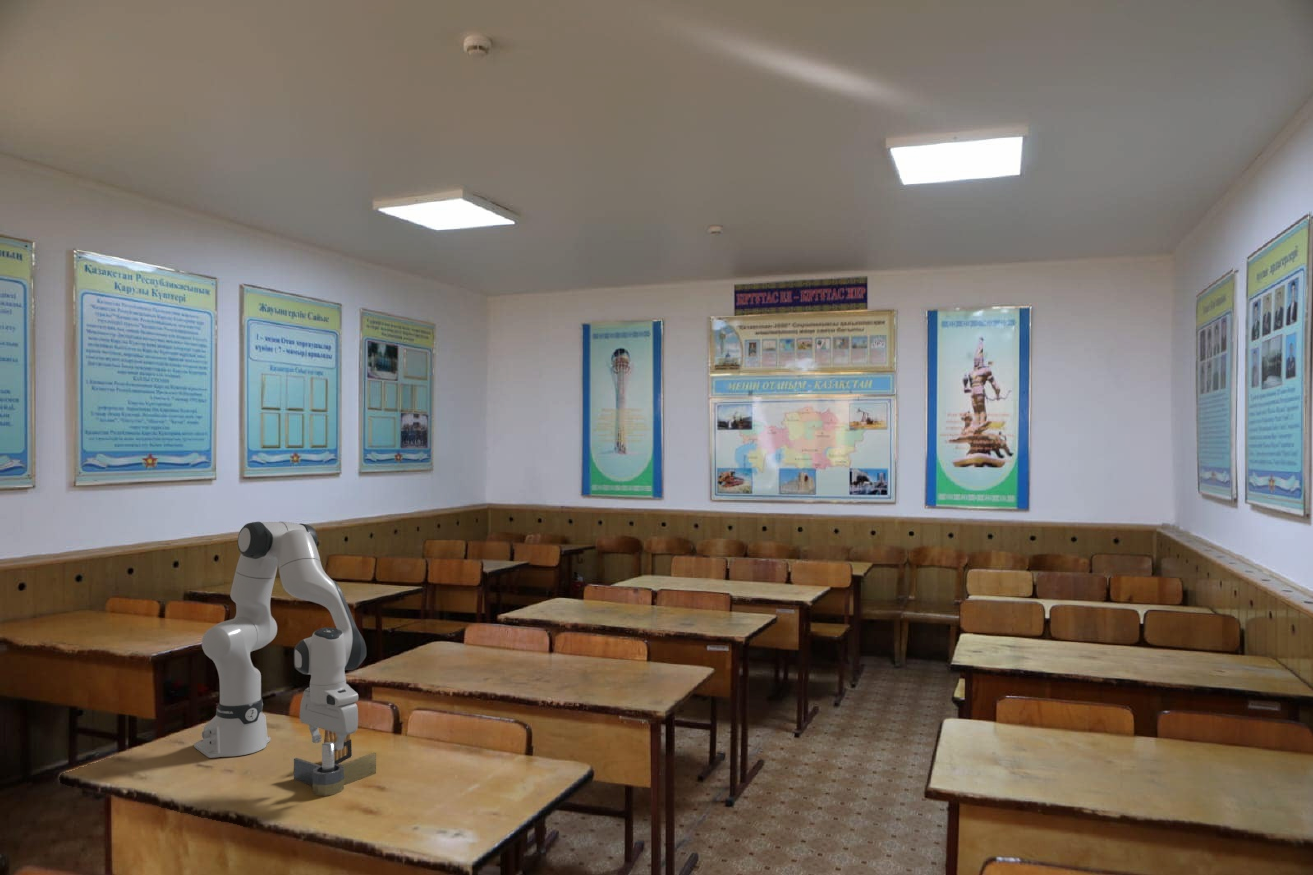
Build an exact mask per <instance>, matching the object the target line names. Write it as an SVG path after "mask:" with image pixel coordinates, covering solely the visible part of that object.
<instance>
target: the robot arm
mask: <svg viewBox="0 0 1313 875" xmlns="http://www.w3.org/2000/svg"><path fill="white" fill-rule="evenodd" d="M318 540H319V538H318V534H317V532H316V529H315V528H314V527H313V526H311V525H308V524H305V523H294V522H289V521H288V522H287V521H265V522H264V521H263V522H262V521H253V522H249V523H245V524H244V525H243V527H242V528H241V529H240V530H239V532H238V537H237V547H238V551H239V553H240V555H239V557H238V561H237V564H236V568H235V571H234V577H233V580H232V581H233V582H232V586H231V589H230V594H229V596H230V599H231V601H233V602H234V603H235V609H236V611H235V612H236V613H235V616H234V618H232V619H228V620H225V621H221V622H219V623H216V624H215V625H213V626H212V627H210V628H209V629H207V630H206V631H205V633H204V634H203V635H202V638H201V648H202V650H203V653H204V655H206V656H207V657H208V658H209V659H210V660H212V661H213V663H214V665H215V668H216V670H217V674H218V679H219V702H217V703H215V705H216V706H215V707H216V712H215V716H214V717H213V718H212V719H211V720H209V721H208V722H207V723H206V724H205V725H204V727H203V730H202V731H201V736H202V737H201V738H202V739H200V740H198V741H196V742H195V743H194V744H193V748H194V749H196V750H197V751H198V752H200V753H202V754H203V755H204V756H205V757H207V758H208V759H215V758H220V757H221V758H224V757H225V758H228V757H239V756H245V755H249V754H254V753H257V752H259V751H261V750H263V749H265V748H266V747H267V746H268V743H269V742H270V741H272V739H271V736H268V729H267V727H268V726H267V717H266V715H265V714H264V713H263V711H264V710H263V706H264V703H263V698H262V675H261V674H262V673H261V672H260V670H259V669H258V668H257V667H255V666H254V664H253V662H252V659H251V653H252V652H253V651H257V650H260V649H263V648H264V647H266V646H267V645H268V644H270V643H271V642H272V641H273V640H274V639H275V638H276V636H277V633H278V624H277V621H276V620H275V618H274V617H273V615H272V613H271V612H272V611H271V600H272V599H271V598H272V593H273V588H274V584H275V580H276V576H277V572H278V573H279V578H280V583H281V585H282V588H283V590H284V591H285V592H286V593H288V595H290V596H291V597H293V598H295V599H298V600H303V601H308V602H312V603H315V604H318V605H320V606H322V607H325V608H326V609H327V610H328V611H329V613H330V615H331V618H332V620H333V623H334V626H335V627H336V628H335V627H321V628H319V629H317V630H315V631H314V632H313V633H312V636H310V637H306V638H304V639H301V640H300V641H299V642H298V643H297V644H296V645H295V646H294V649H293V666H294V667H293V668H295V669H296V671H298V672H299V673H301V674H302V675H310V681H309V687H306V688H305V689H304V691H303V693H302V694H303V695H302V698H301V701H300V705H299V706H300V708H299V721H300V722H301V724H304V725H308V729H309V732H310V735H311V743H314V744H319V743H321V742H322V734H320V730H324V731H325V730H327V731H331V732H334V733H336V737H338V739H337V742H335V743H334V749H336V750H341V749H343V745H344V740H345V738H346V736H347V735H349V734H350V735H352V734H355V733H356V732H357V730H358V725H359V710H358V709H359V708H358V704H357V702H358V700H359V694H358V692H357V691H355V690H354V689H353V688H352V687H351V686H350V685H349V684H348V683H347V676H346V672H345V671H350V670H352V671H353V670H356V669H357V668H359V666H361V664H362V663H363V662H364V661H365V659H366V657H367V645H366V642H365V639H364V637H363V635H362V633H360V631H359V629H358V627H357V625H356V622H355V619H354V617H353V615H352V612H351V610H350V607H349V604H348V602H347V600H346V597H345V595H344V592H343V591H342V589H341V586H340V585H339V583H338V582H337V581H336V580H333V579H332V578H330V576H329V575H328V574H327V573H326V572H325V570H324V568H323V565H322V562H321V557H320V553H319V551H318V548H317V547H318ZM277 570H278V571H277ZM319 729H320V730H319Z"/></svg>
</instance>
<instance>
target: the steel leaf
mask: <svg viewBox="0 0 1313 875" xmlns="http://www.w3.org/2000/svg"><path fill="white" fill-rule="evenodd" d="M340 764H341V763H339V764H334V771H333V772H328V773H322V765H320V764H317V763H314V762H311V761H307V760H305V759H302V758H300V757H294V758H293V780H294V781H297V782H300V781H301V783H304V784H307V785H309V786H312V787H313V783H314V784H317V785H330V784H335V783H337V782H340V781H341V780H343V779H344V767H343V765H340ZM338 765H340V766H338Z"/></svg>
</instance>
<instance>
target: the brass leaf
mask: <svg viewBox="0 0 1313 875" xmlns="http://www.w3.org/2000/svg"><path fill="white" fill-rule="evenodd" d="M339 764H340V765H343V767H344V779H343V780H341V781H340V782H337V783H335V784H330V785H317V784H314V783H313V786H312V794H313V795H315V796H318V797H327V796H333V795H336V794H339V793H341V792H342V791H344V789H345V787H344V786H345V785H348V784H351V783H353V782H354V783H355V782H356V781H359V780H362V779H365V778H368V777H370V776H372V775H375V774H377V752H372V753H369V754H366V755H363V756H360V757H358V758H354V759H352V760H349V761H344V762H343V763H342V762H341V763H339ZM340 765H338V766H340Z"/></svg>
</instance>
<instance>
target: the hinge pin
mask: <svg viewBox="0 0 1313 875" xmlns="http://www.w3.org/2000/svg"><path fill="white" fill-rule="evenodd" d="M321 759H322V760H321V766H322V773H328V772H333V771H334V742H325V743H324V742H323V743H322V744H321Z"/></svg>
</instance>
